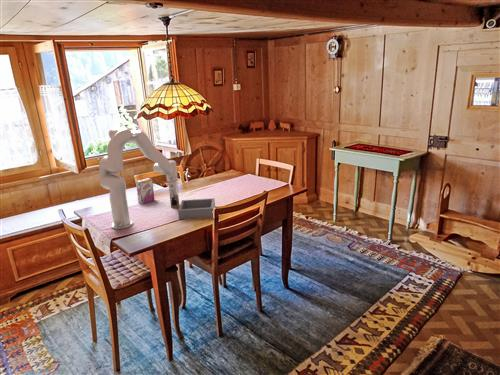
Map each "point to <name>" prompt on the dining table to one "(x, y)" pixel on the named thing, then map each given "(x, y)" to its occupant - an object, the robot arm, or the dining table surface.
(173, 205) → the walnut block
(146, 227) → the dining table surface
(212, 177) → the dining table surface
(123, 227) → the robot arm
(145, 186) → the candy bar box
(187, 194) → the dining table surface
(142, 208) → the dining table surface
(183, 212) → the bin
